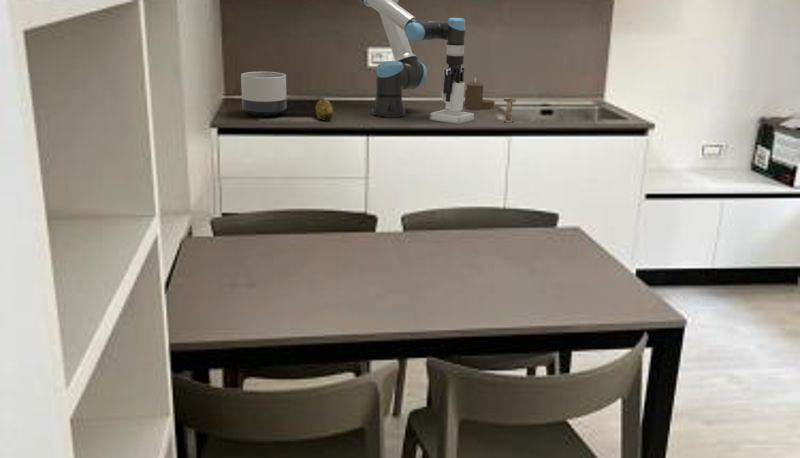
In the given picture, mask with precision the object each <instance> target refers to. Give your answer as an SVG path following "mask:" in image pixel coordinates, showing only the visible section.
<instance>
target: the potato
mask: <svg viewBox="0 0 800 458" xmlns="http://www.w3.org/2000/svg"><path fill="white" fill-rule="evenodd" d="M315 113H316V116H317V117H316V118H318V119H319V120H320V119H324V120H323V121H325V120H328V121H330V120H331V119H332V118H333V115H334V108H333V105H332V103H331V102H330V101H329V100H328V99H319V100H318V101H317V102H316V105H315Z"/></svg>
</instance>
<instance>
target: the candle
mask: <svg viewBox="0 0 800 458" xmlns="http://www.w3.org/2000/svg"><path fill="white" fill-rule="evenodd" d="M483 97H484V84H483V83H482V82H481V81H478V80H477V77H475V78H474V81H473V80H472V81H470V82H468V83H467V84H466V90H464V107H465V109H466V110H469V111H481V110H492V109H491V108H493V109H494V104H495V101H494V100H492V99H487V98H485V99H484V98H483ZM480 109H481V110H480Z"/></svg>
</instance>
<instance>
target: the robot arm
mask: <svg viewBox="0 0 800 458" xmlns="http://www.w3.org/2000/svg"><path fill="white" fill-rule="evenodd" d="M359 2H360V3H361V4H363V5H365V6H366V7H368V8H369V7H371V8H372V9H374V10H375V11H377V12H378V13H379V16H380V18H381V22H382V25H383V28H384V30H385V31H384V32H385V33H386V37H387V39H388V43H389V45H390V48H391V52H392V55H393V58H394V60H391V61H389V60H388V61H382V62H380V63H378V64H377V67H376V72H375V73H376V74H375V76H376V78H375V79H376V80H375V81H376V82H375V83H376V85H375V87H376V88H375V100H374V102H373V104H372V105H373V106H372V108H371V115H372V114H373V115H372V116H374V115H378V116H377V117H379V116H387V117H386V118H401V117H400V116H402V117H404V115H405V116H406V109H405V105H404V102H403V97H402V96H403V90H404V91H405V90H414V89H417V88H418V89H419V88H421V87H422V86H423V85H424V84H425V83H426V80H427V78H428V71H427V66H426V65H425V64H424V63H422V62H420V61H419V59H418V56H417V55H416V54H414V53H413V51H412V48H411V45H410V42H409V41H412V42H413V41H414V42H420V41H433V40H444V41H446V54H447V55H446V59H445V60H446V61H445V63H446V65H448V68H447V69H444V77H443V78H444V79H443V86H444V89H443V93H444V95H445V98H446V102H445V109H446V110H449V109H452V94H451V92H452V84H453V83H454V81H456V83H460V82H465V81H464V75H465V74H464V73H465V67H462V65H463V64H464V60H465V57H464V54H465V38H466V37H465V35H466V20H465V18H463V17H462V18H461V17H449V18H448V20H447V21H445V22H444V21H438V20H429V21H421V20H420V19H418V17H415V16H414V15H412V14H411V12H409V11H407V10H406V9H404V8H403V7H402V6H400V4H398V2H399V0H359Z"/></svg>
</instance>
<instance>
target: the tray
mask: <svg viewBox="0 0 800 458" xmlns="http://www.w3.org/2000/svg"><path fill="white" fill-rule="evenodd" d="M474 117H475V113H473V112H466V111H461V110H460V111H454V110H449V109H446V108H444V109H440V110H438V111H432V112H430V113H429V120H430V121H435V122H436V121H437V122H442V123H447V124H455V125H462V124H465V123H469V122H471V121H474V120H475V119H474Z"/></svg>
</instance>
